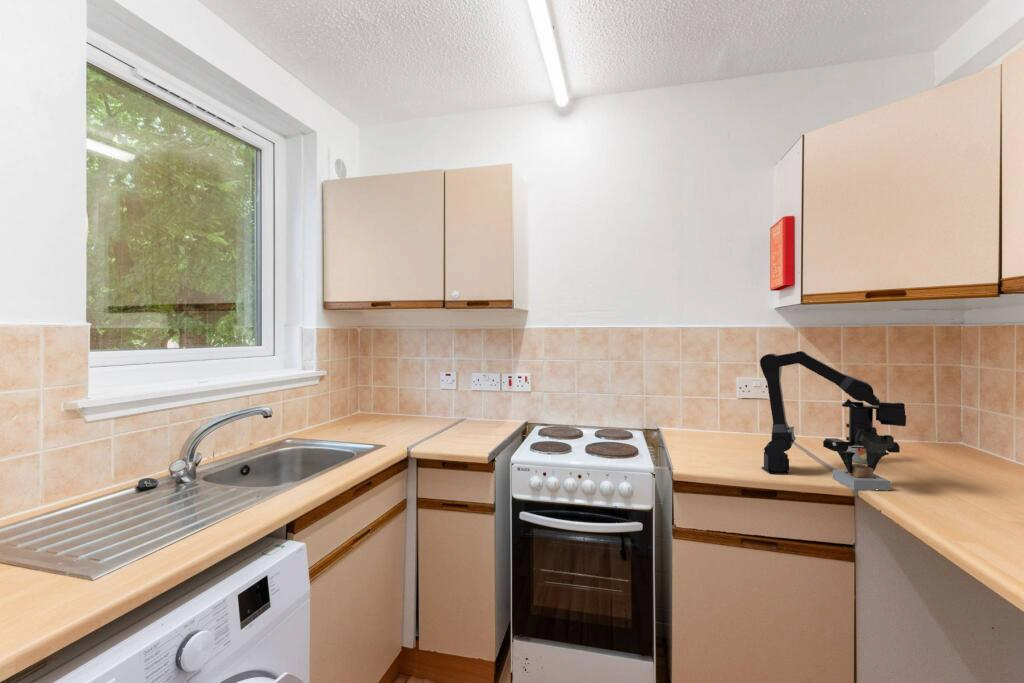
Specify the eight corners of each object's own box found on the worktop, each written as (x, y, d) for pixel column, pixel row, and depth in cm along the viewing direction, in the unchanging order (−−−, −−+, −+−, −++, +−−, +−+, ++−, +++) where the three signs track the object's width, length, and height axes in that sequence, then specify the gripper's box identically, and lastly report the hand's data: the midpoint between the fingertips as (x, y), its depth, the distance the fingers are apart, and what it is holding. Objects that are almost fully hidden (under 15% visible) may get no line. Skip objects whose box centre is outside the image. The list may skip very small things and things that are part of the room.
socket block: (854, 490, 132) (854, 480, 132) (832, 479, 142) (832, 469, 142) (890, 491, 131) (890, 481, 131) (866, 480, 141) (866, 470, 141)
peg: (857, 488, 134) (857, 468, 134) (847, 483, 139) (847, 464, 139) (873, 488, 134) (873, 468, 134) (862, 483, 138) (862, 464, 138)
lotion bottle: (874, 464, 157) (874, 407, 157) (856, 463, 158) (856, 407, 158) (865, 459, 163) (865, 405, 163) (847, 459, 164) (847, 404, 164)
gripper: (845, 427, 129) (845, 481, 129) (915, 428, 127) (914, 482, 127) (822, 420, 140) (821, 469, 140) (886, 420, 138) (885, 470, 138)
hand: (860, 473), depth 136 cm, fingers open, 6 cm apart
